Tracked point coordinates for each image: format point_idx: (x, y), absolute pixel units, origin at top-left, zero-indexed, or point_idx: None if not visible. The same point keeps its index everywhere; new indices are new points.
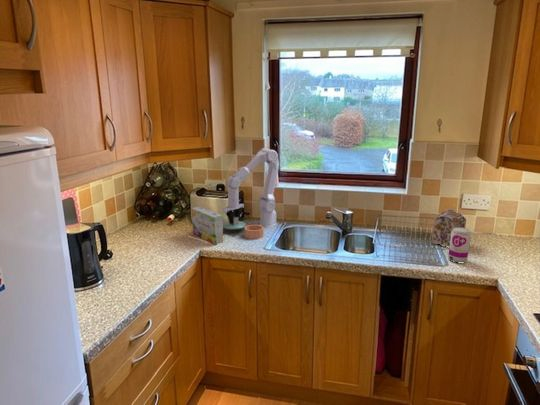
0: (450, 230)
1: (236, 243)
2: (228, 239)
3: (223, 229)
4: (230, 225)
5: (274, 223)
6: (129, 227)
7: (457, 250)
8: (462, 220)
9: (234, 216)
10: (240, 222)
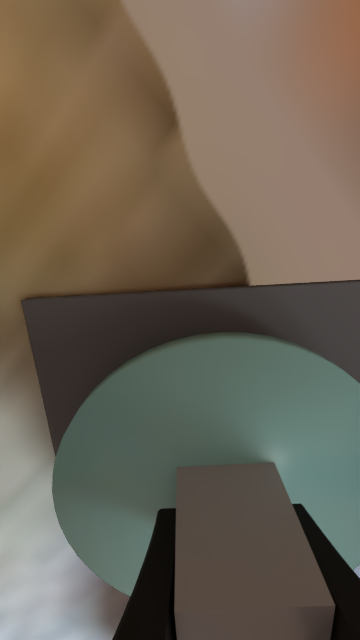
0: None
1: (15, 622)
2: (16, 542)
3: (145, 348)
4: (154, 505)
5: None
6: None
7: None
8: None
9: (318, 634)
10: (353, 508)
